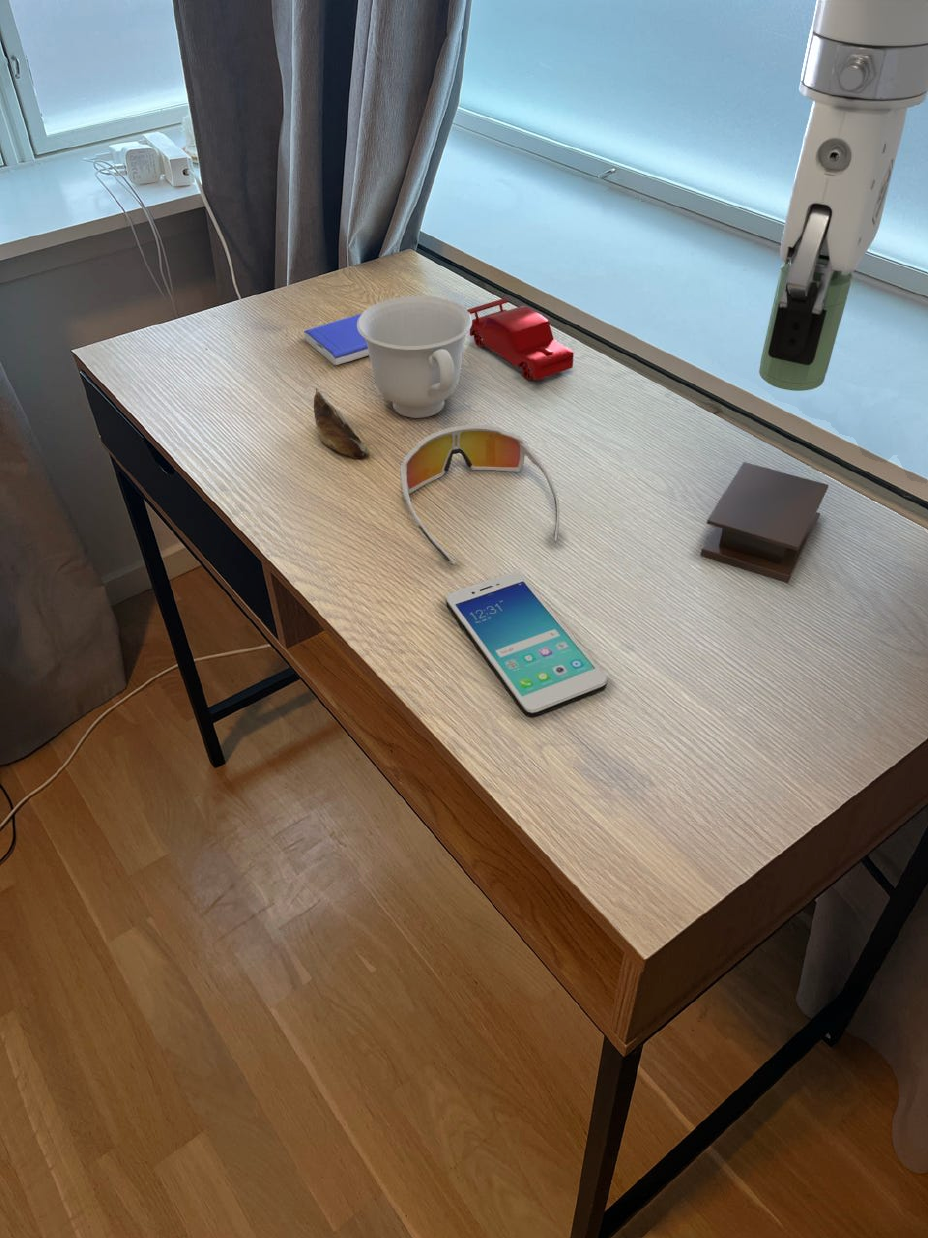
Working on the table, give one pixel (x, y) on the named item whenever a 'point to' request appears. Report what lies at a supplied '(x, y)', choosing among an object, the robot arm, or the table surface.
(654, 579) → the table surface
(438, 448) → the sunglasses
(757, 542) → the stand
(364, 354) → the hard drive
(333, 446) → the oyster shell
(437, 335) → the teacup
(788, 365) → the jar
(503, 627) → the smartphone
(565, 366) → the toy car
